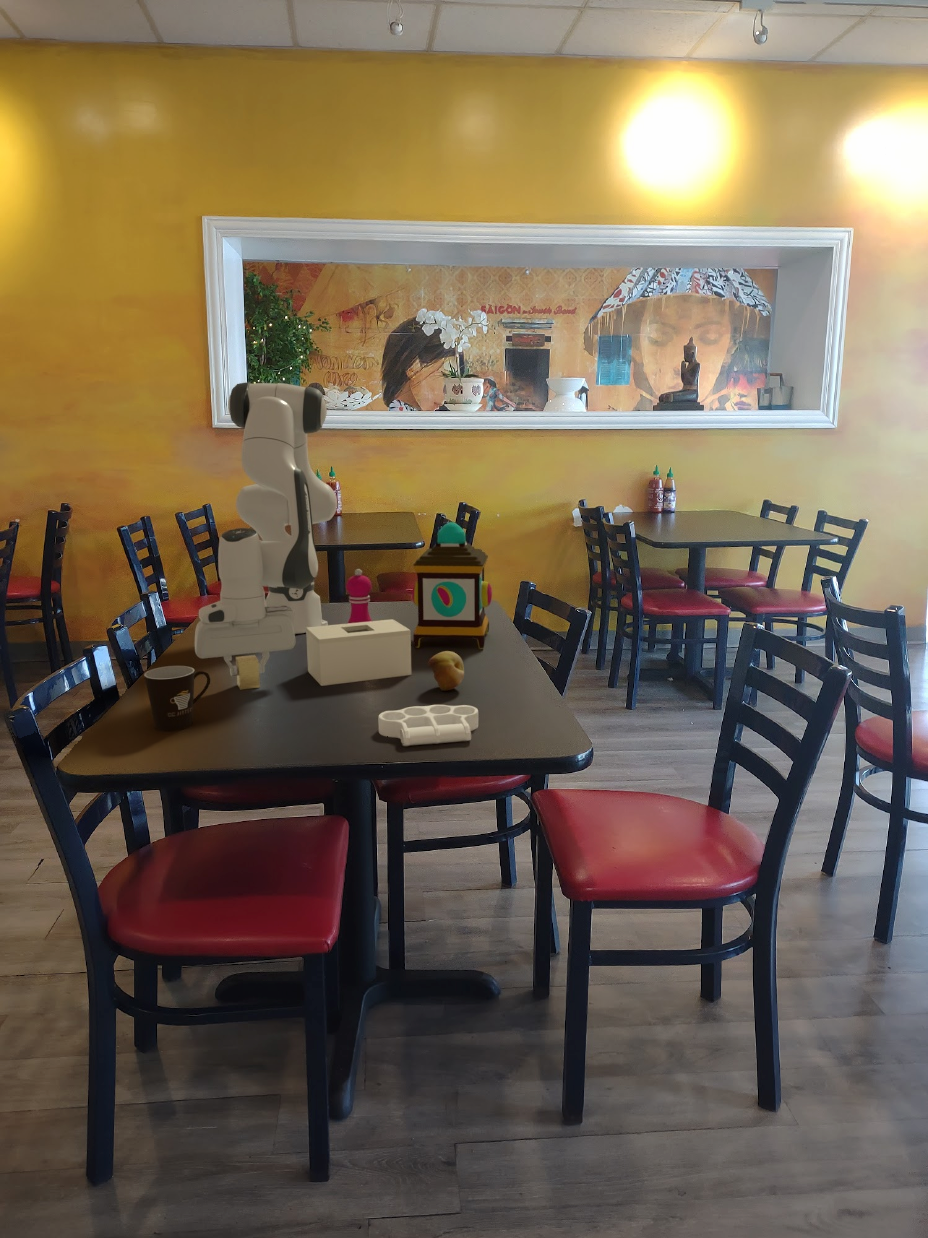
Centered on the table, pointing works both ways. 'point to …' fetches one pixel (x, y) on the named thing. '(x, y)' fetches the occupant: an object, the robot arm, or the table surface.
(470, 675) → the table surface
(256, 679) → the yellow wooden block
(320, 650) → the coin box
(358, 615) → the pepper mill
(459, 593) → the decorative lantern
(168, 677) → the coffee mug
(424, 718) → the knuckle duster
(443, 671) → the fruit
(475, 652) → the table surface
